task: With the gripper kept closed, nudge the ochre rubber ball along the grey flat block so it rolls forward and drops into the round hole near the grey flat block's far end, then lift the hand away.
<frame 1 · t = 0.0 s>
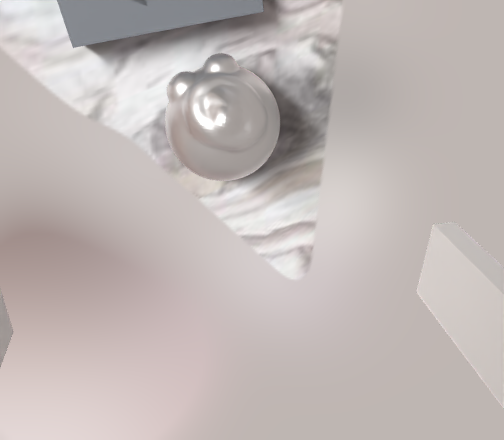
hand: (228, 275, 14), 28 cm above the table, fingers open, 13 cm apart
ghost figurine: (215, 102, 40), on the table
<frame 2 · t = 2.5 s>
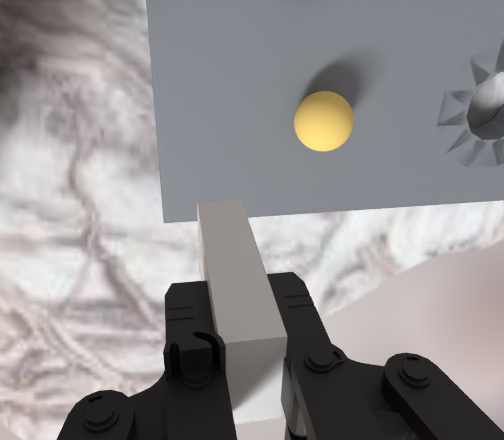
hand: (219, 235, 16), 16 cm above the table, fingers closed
ball: (323, 121, 27), point 4 cm above the table, touching grey flat block
grey flat block: (369, 99, 32), on the table
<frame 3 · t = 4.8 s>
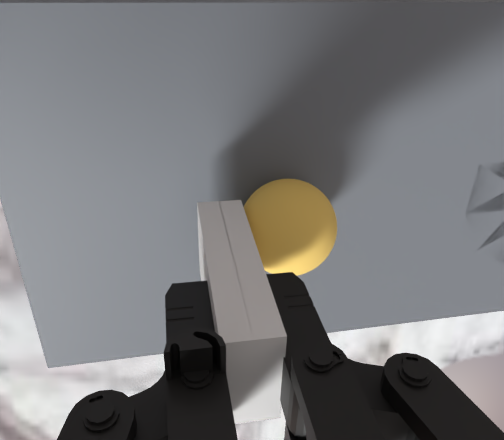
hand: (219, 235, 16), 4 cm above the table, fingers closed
ball: (287, 227, 17), point 4 cm above the table, touching gripper
grey flat block: (362, 170, 21), on the table
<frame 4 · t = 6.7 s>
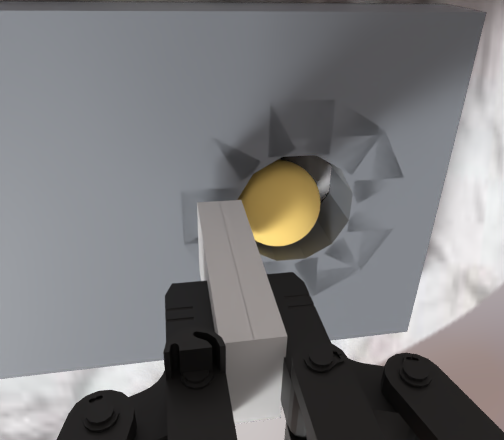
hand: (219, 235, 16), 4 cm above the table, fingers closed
ball: (276, 203, 19), point 2 cm above the table, tilted 73°
grey flat block: (84, 194, 19), on the table
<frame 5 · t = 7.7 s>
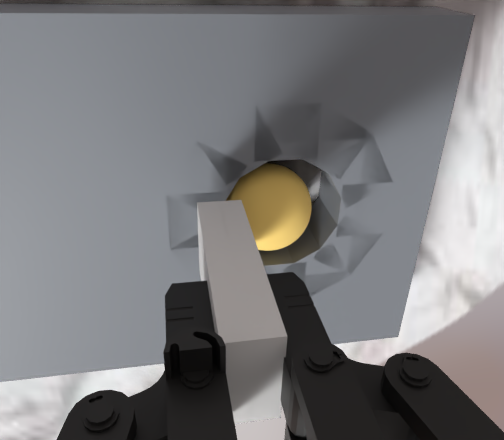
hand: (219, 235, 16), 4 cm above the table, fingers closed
ball: (267, 207, 19), point 2 cm above the table, tilted 77°
grey flat block: (70, 197, 19), on the table
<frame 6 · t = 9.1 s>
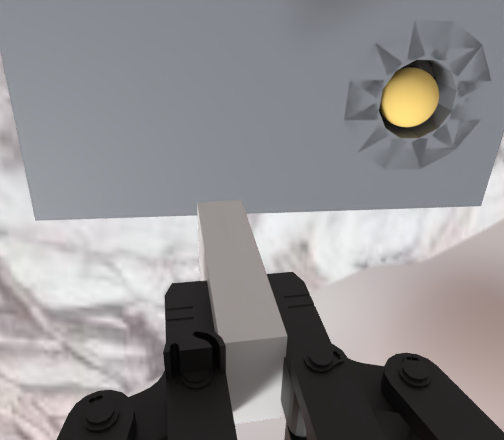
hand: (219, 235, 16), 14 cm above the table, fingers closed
ball: (408, 97, 28), point 2 cm above the table, tilted 83°
grey flat block: (273, 89, 28), on the table
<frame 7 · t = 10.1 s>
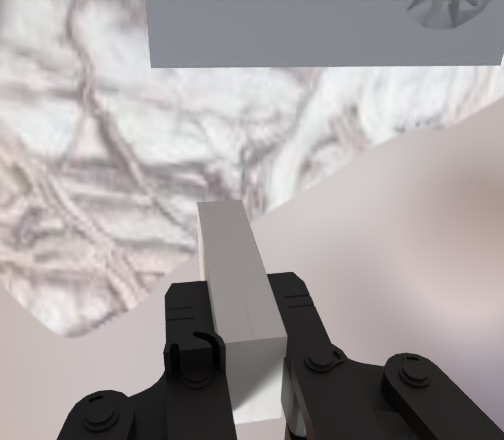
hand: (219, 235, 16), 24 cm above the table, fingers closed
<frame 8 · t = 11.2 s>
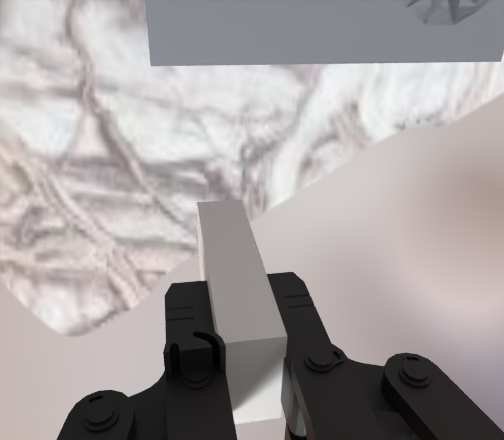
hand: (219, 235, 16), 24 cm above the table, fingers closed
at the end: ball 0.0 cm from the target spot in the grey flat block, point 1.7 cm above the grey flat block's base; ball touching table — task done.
